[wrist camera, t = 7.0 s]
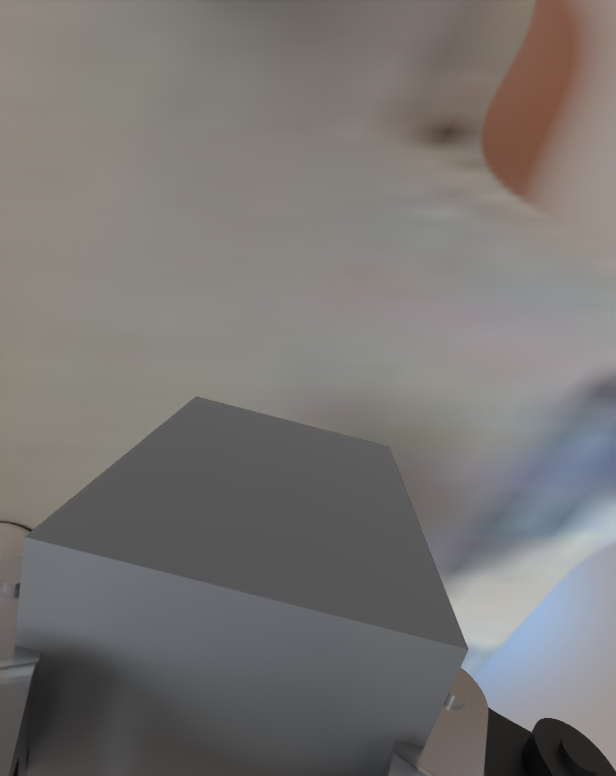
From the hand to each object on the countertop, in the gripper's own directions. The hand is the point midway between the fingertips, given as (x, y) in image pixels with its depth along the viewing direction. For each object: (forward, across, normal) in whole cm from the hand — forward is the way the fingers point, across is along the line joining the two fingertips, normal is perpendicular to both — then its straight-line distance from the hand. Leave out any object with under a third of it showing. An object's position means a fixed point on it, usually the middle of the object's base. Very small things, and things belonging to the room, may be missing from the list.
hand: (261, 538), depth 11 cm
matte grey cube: (+2, 0, 0) cm, 2 cm away
